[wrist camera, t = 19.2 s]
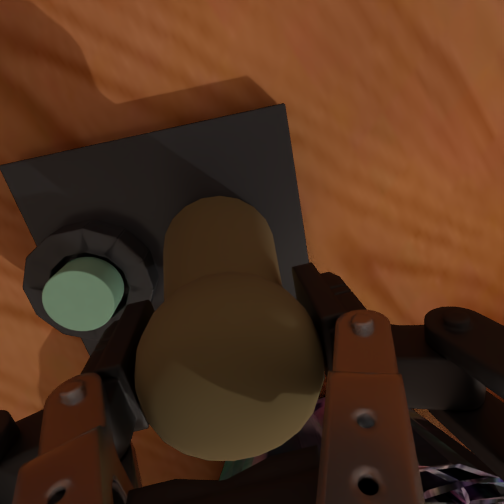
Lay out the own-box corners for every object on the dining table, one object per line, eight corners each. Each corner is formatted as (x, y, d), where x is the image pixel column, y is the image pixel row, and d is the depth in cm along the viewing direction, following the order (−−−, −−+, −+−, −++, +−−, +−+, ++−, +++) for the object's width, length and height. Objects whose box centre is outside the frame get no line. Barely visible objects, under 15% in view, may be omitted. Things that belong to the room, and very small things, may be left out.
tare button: (73, 318, 17) (58, 338, 16) (47, 264, 16) (28, 279, 15) (133, 304, 17) (124, 323, 16) (111, 249, 16) (99, 263, 15)
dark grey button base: (97, 363, 22) (80, 398, 19) (4, 165, 17) (-39, 172, 14) (312, 313, 22) (326, 341, 19) (280, 104, 17) (292, 100, 14)
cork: (138, 239, 17) (37, 403, 7) (233, 172, 17) (275, 241, 6) (208, 318, 19) (209, 532, 9) (294, 261, 19) (399, 420, 8)
